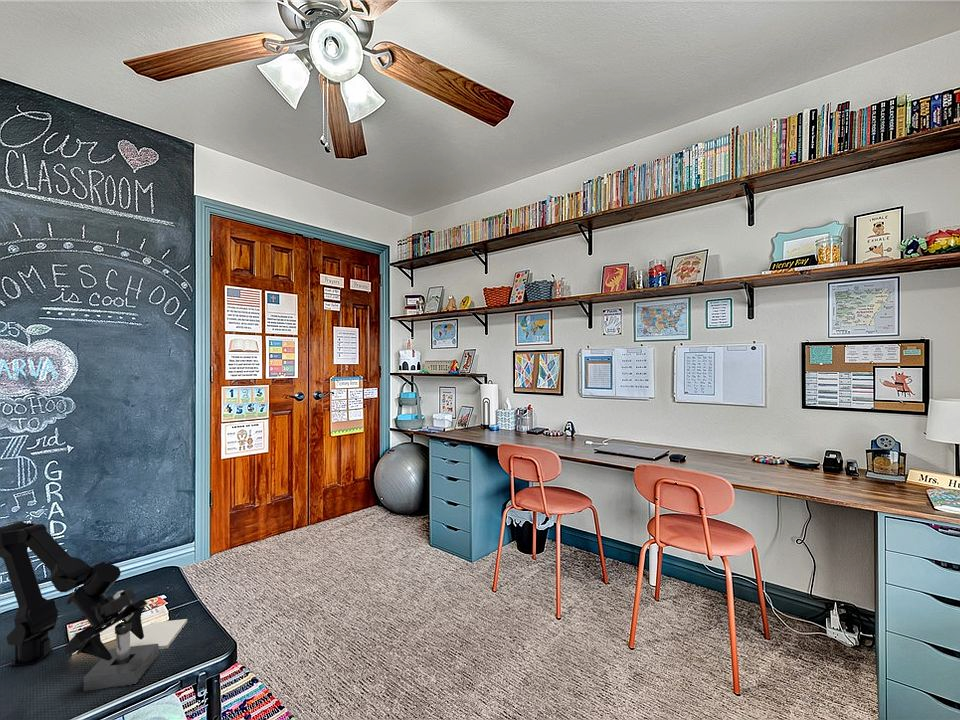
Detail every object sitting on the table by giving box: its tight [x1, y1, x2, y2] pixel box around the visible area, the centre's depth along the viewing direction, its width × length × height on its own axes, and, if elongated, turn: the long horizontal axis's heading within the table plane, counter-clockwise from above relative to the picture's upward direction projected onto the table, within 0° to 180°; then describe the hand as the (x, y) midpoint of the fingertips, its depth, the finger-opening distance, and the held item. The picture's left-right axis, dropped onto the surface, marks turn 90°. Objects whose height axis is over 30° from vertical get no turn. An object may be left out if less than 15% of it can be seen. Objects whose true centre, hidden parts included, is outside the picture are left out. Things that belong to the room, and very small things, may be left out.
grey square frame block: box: [83, 644, 159, 692], centre depth 125 cm, size 12×12×4 cm
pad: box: [130, 618, 188, 651], centre depth 141 cm, size 14×14×1 cm
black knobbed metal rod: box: [114, 621, 132, 665], centre depth 125 cm, size 4×4×13 cm
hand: (127, 648), depth 125 cm, fingers open, 9 cm apart
